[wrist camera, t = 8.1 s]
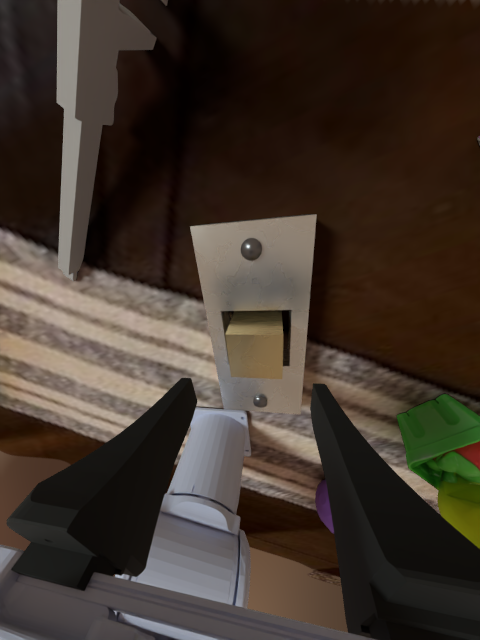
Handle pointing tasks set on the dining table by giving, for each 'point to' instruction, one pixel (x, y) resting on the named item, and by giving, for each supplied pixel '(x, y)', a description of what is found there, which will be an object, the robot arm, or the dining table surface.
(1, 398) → the dining table surface
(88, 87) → the caliper
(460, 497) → the fruit basket
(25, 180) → the dining table surface
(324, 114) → the dining table surface
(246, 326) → the block
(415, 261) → the dining table surface
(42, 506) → the robot arm
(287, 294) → the white slotted plate
